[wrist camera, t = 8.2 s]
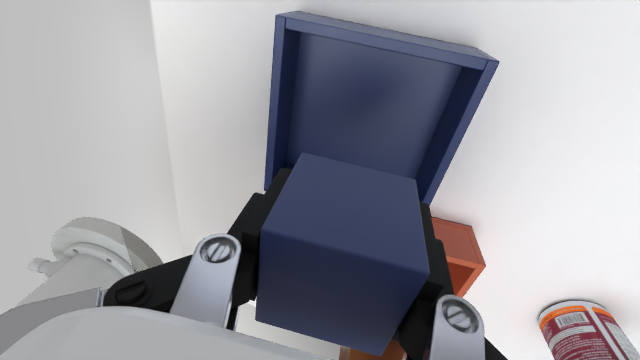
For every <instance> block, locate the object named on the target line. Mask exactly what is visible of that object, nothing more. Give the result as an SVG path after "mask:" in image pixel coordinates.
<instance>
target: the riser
mask: <svg viewBox="0 0 640 360" xmlns="http://www.w3.org/2000/svg"><path fill="white" fill-rule="evenodd" d="M403 353H404V350H403V348H402V347H401V346H400V345H399V342H397V341H394V340H390V342H389V344H388V345H387V347H386V349H385V350H384V352H383V354H382V355H381V356H377V355H373V354H370V353H366V352H363V351H359V350H356V349H352V348H349V347H345V346H342V345H341V348H340V356H339V360H402V358H403Z"/></svg>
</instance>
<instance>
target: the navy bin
mask: <svg viewBox="0 0 640 360" xmlns="http://www.w3.org/2000/svg"><path fill="white" fill-rule="evenodd" d="M498 65H499V61H498V60H496V59H494V58H493V57H491V56H489V55H488V54H486V53H484V52H482V51H481V50H479V49H477V48H474V47H469V46H464V45H459V44H455V43H450V42H445V41H440V40H435V39H430V38H426V37H421V36H416V35H411V34H406V33H401V32H397V31H392V30H387V29H382V28H377V27H372V26H368V25H363V24H358V23H353V22H348V21H343V20H339V19H334V18H329V17H324V16H319V15H314V14H310V13H305V12H300V11H295V12H289V13H284V14H278V15H276V18H275V33H274V48H273V63H272V78H271V93H270V108H269V123H268V137H267V152H266V167H265V182H264V191H267V189H268V188H269V186H270V184H271V183H272V181H273V180H274V178H275V176H276V175H277V173H278V171H279V170H280V168H286V169H290V170H293V168H294V167H295V165H296V163H297V161H298V159H299V157H300V155H301V154H302V153H307V154H312V155H316V156H320V157H324V158H328V159H332V160H336V161H340V162H345V163H349V164H353V165H357V166H361V167H365V168H369V169H374V170H378V171H382V172H386V173H390V174H394V175H398V176H402V177H407V178H411V179H415V180H416V185H417V191H418V198H419V202H423V203H427V204H429V206H430V204H431V202H432V200H433V198H434V195H435V193H436V191H437V189H438V187H439V185H440V183H441V181H442V179H443V177H444V175H445V173H446V171H447V169H448V167H449V165H450V163H451V161H452V159H453V157H454V155H455V153H456V150H457V148H458V146H459V144H460V142H461V140H462V138H463V136H464V134H465V132H466V130H467V128H468V126H469V124H470V122H471V120H472V118H473V116H474V114H475V112H476V110H477V108H478V105H479V103H480V101H481V99H482V97H483V95H484V93H485V91H486V89H487V87H488V85H489V83H490V81H491V79H492V77H493V75H494V73H495V71H496V69H497V67H498Z"/></svg>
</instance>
